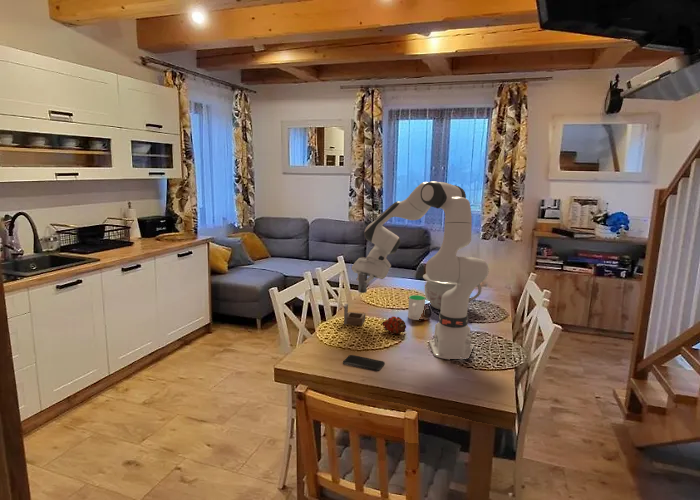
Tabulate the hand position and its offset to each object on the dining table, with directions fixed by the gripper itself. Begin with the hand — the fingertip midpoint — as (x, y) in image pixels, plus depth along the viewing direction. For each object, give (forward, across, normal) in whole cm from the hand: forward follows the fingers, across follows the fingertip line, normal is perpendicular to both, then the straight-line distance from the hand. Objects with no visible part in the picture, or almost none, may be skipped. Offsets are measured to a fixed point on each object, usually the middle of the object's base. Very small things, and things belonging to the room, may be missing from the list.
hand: (361, 281), depth 222 cm
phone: (+40, +35, -12) cm, 55 cm away
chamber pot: (-20, +20, +47) cm, 55 cm away
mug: (-1, +18, +28) cm, 34 cm away
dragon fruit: (+16, +23, +11) cm, 30 cm away
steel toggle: (+3, 0, +4) cm, 5 cm away
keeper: (+18, +2, +9) cm, 20 cm away
